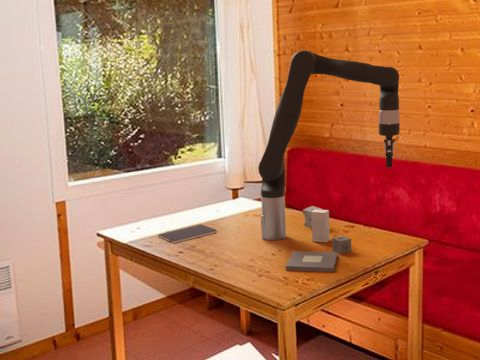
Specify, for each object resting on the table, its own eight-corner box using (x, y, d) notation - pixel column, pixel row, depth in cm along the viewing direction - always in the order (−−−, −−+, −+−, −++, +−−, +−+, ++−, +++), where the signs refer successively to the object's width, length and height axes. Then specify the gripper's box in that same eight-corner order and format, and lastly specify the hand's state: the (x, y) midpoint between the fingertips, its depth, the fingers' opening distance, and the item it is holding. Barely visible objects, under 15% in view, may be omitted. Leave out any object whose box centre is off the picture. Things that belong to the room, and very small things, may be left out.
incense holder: (302, 226, 256) (301, 207, 254) (314, 223, 259) (314, 205, 258) (313, 230, 249) (313, 211, 248) (325, 227, 253) (325, 208, 251)
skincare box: (330, 239, 236) (329, 210, 233) (326, 242, 232) (326, 212, 230) (315, 238, 238) (314, 209, 236) (311, 241, 234) (310, 211, 232)
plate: (286, 270, 205) (285, 265, 204) (293, 254, 220) (293, 250, 220) (333, 272, 201) (333, 267, 201) (337, 256, 216) (337, 252, 216)
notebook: (201, 227, 264) (158, 238, 252) (201, 224, 264) (158, 234, 251) (217, 233, 254) (173, 244, 242) (217, 230, 253) (173, 241, 241)
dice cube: (332, 250, 223) (332, 237, 222) (343, 248, 225) (343, 235, 224) (339, 254, 218) (339, 241, 217) (351, 252, 220) (351, 238, 219)
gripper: (378, 120, 230) (379, 161, 233) (378, 124, 217) (378, 168, 220) (399, 119, 228) (399, 161, 232) (400, 124, 215) (399, 168, 218)
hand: (389, 165), depth 226 cm, fingers open, 8 cm apart
